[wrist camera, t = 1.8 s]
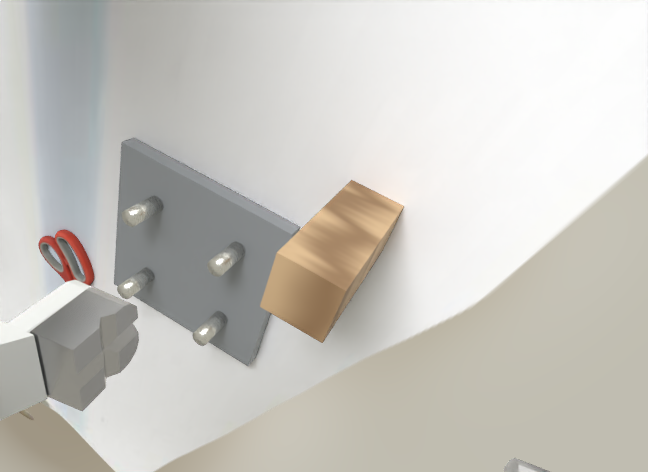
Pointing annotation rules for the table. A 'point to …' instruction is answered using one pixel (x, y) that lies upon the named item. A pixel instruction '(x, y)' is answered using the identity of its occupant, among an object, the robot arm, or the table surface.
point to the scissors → (67, 257)
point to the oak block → (329, 259)
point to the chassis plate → (197, 248)
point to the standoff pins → (145, 276)
